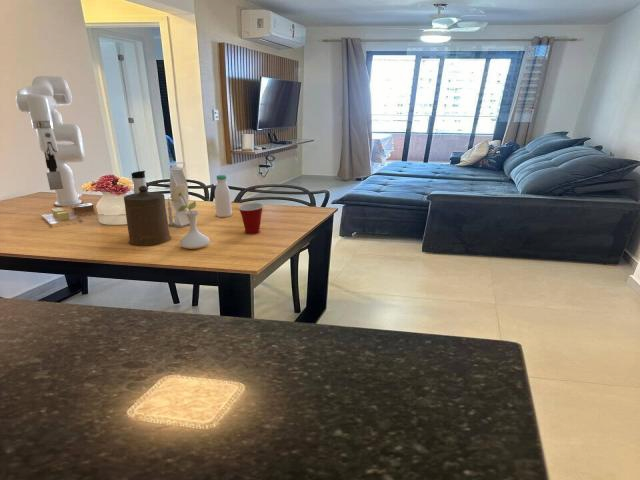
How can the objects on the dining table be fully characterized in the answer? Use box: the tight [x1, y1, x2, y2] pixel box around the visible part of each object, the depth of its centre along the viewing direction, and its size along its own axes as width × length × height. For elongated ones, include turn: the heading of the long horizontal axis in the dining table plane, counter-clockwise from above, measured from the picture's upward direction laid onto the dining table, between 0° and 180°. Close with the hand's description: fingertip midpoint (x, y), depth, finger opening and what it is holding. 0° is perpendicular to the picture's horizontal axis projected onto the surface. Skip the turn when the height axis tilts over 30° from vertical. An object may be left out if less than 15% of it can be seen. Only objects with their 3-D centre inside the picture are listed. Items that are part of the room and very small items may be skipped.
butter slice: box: [57, 212, 69, 220], centre depth 175 cm, size 2×4×3 cm, turn 135°
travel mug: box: [130, 170, 148, 194], centre depth 197 cm, size 6×7×20 cm
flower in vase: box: [169, 184, 211, 250], centre depth 143 cm, size 13×11×25 cm
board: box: [41, 210, 82, 225], centre depth 178 cm, size 20×12×2 cm, turn 45°
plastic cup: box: [237, 202, 264, 235], centre depth 164 cm, size 11×11×12 cm
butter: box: [51, 207, 66, 218], centre depth 180 cm, size 7×4×3 cm, turn 45°
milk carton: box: [167, 161, 190, 229], centre depth 171 cm, size 8×8×28 cm
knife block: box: [70, 202, 95, 216], centre depth 186 cm, size 5×9×5 cm, turn 135°
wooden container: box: [123, 185, 171, 247], centre depth 151 cm, size 15×15×22 cm
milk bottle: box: [214, 174, 233, 218], centre depth 188 cm, size 8×8×20 cm
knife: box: [46, 156, 63, 191], centre depth 170 cm, size 5×2×15 cm, turn 135°
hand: (52, 168), depth 170 cm, fingers closed on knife, 1 cm apart
